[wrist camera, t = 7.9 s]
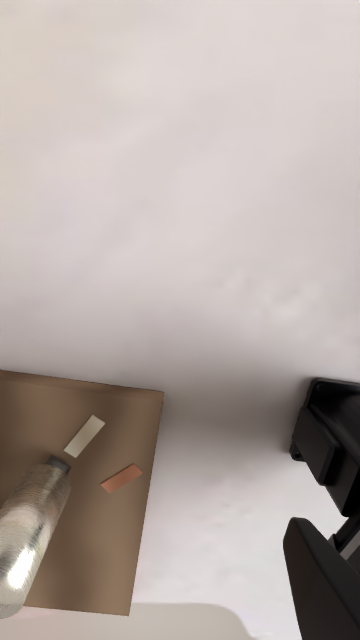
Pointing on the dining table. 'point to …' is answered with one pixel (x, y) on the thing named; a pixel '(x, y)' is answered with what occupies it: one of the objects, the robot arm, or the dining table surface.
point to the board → (83, 482)
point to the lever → (29, 528)
